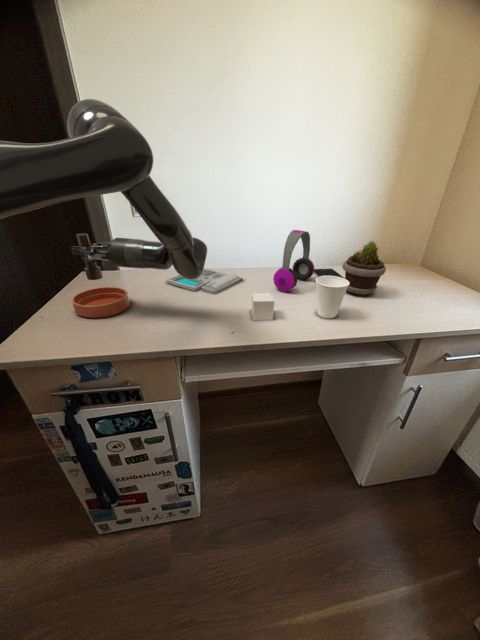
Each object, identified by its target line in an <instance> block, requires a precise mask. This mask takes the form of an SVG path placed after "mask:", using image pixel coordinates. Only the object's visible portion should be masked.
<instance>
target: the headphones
mask: <svg viewBox="0 0 480 640" xmlns="http://www.w3.org/2000/svg"><path fill="white" fill-rule="evenodd" d="M285 240H286V241H285V244H284V249H283V254H282V255H283V257H282V266H281V267H280V268H279V269H278V270H276V272H275V273H274V274H273V278H272V279H273V280H272V281H273V284H274V286H275V288H276V289H277V290H279V291H280V292H283V293H284V292H285V293H287V292H290V291H292V290H294V289H295V287H296V286H297V284H298V280H299V281H306V280H308V279H310V278H311V277H313V275H314V273H315V272H314V269H315V265H314V262H313V261H312V260H311V259H310V251H311V234H310V232H309V231H305V230H299V229H292V230H291V231H290V232H289V234H288V236H287V238H286V239H285ZM299 240H301V244H302V249H303V250H302V257H300V258H297V259H296V260H295V261H294V263H293V265H292V268H290V265H291V259H292V255H293V252H294V249H295V247H296V245H297V243H299Z"/></svg>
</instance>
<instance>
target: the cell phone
mask: <svg viewBox="0 0 480 640" xmlns="http://www.w3.org/2000/svg"><path fill="white" fill-rule="evenodd" d="M313 273H315V274H316V275H318V277H320V276H337V277H341V278H344V279H345V276H343V275H341V274H340V273H339V272H337V271H336V270H334V269H333V268H314V272H313Z"/></svg>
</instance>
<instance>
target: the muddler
mask: <svg viewBox="0 0 480 640" xmlns="http://www.w3.org/2000/svg"><path fill="white" fill-rule="evenodd" d="M76 238H77V241H78V246H81V247H90V246H91V244H92V243H91V241H90V239H89V238H90V237H89V233H85V232H83V233H76ZM89 251H90V250H89ZM84 263H85V267H84V269H83V270H84V272H85V275H86V278H87V280H89V281H98V280H101V279H103V277H104V276H103V273H102V270H101V266H100V265H97V261H96V262H95V263H92V262H89V261H87V260H84Z"/></svg>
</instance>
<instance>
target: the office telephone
mask: <svg viewBox="0 0 480 640" xmlns="http://www.w3.org/2000/svg"><path fill="white" fill-rule="evenodd" d="M165 281H166V284H168V285H172V286H176V287H179V288H183V289H186V290H189V291H193V292H196V291H198V290H201V291H204V292H207V293H211V294H217V293H219V292H221V291H224V290H226V289H228V288H230V287H232V286H234V285H237V284H238V283H241V282H243V277H240V276H239V275H238V274H235V273H225V272H220V271H216V270H213V269H209V268H205V267H204V269H203V273H202V275H201V276H200V277H199V278H197V279H195V280H189V279H186V278H184V277H182V276H181V275H179V274H178V275H175V276H172V277H170V278H167V279H165Z"/></svg>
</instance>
